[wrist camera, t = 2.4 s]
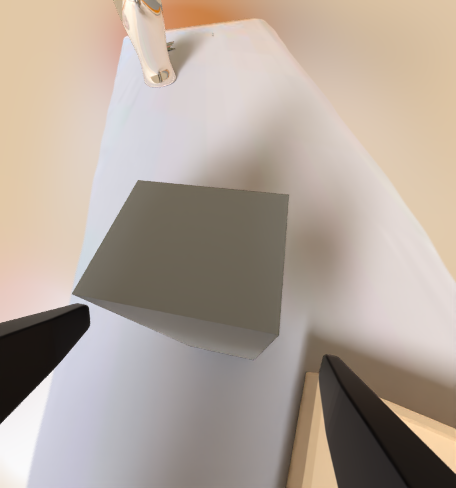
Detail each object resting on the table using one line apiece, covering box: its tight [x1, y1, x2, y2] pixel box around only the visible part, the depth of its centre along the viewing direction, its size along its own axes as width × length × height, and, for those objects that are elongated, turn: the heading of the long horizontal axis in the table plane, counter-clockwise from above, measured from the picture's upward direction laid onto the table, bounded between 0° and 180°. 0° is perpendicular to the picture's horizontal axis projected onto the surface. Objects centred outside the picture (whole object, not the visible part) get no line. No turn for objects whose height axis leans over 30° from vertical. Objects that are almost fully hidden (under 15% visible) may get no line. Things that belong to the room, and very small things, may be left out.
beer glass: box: [113, 0, 176, 88], centre depth 35 cm, size 7×7×15 cm
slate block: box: [72, 180, 289, 360], centre depth 11 cm, size 5×4×13 cm
